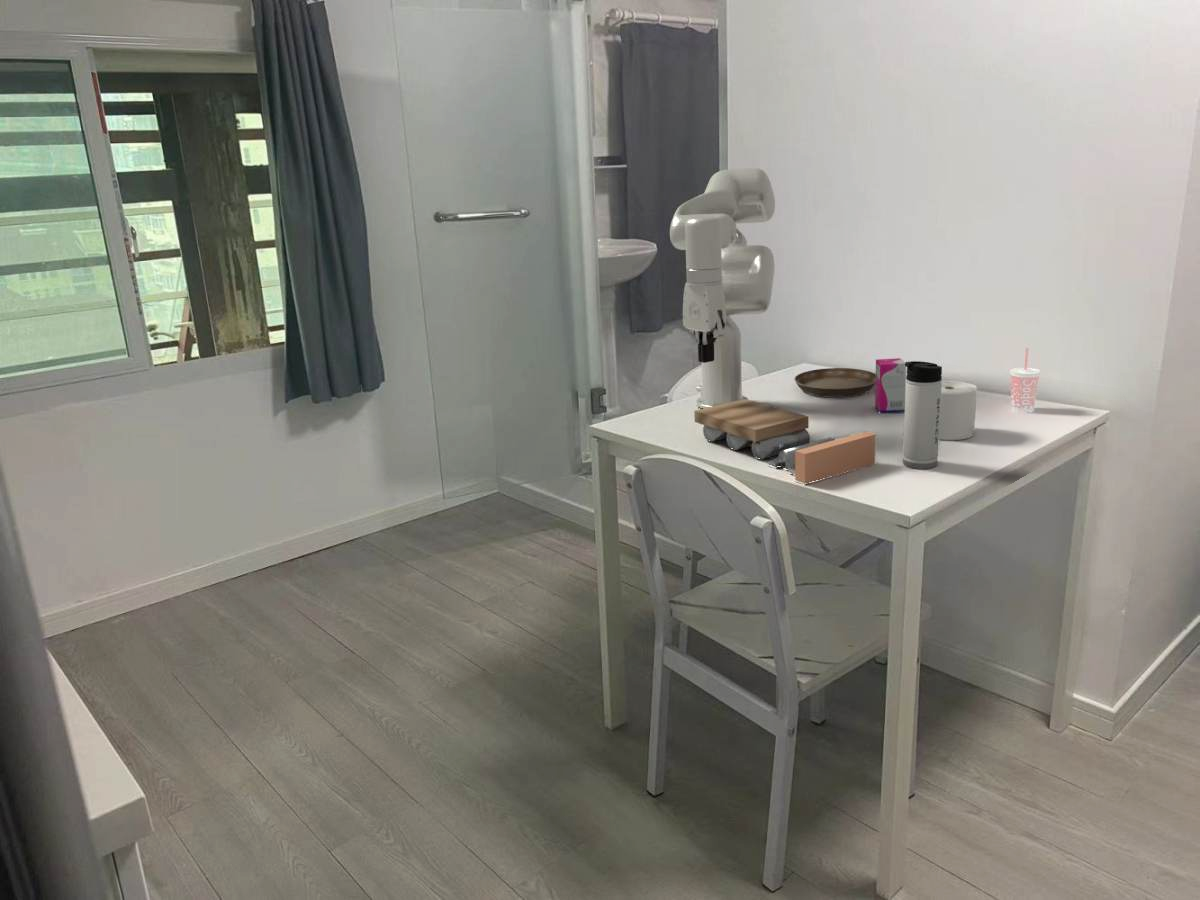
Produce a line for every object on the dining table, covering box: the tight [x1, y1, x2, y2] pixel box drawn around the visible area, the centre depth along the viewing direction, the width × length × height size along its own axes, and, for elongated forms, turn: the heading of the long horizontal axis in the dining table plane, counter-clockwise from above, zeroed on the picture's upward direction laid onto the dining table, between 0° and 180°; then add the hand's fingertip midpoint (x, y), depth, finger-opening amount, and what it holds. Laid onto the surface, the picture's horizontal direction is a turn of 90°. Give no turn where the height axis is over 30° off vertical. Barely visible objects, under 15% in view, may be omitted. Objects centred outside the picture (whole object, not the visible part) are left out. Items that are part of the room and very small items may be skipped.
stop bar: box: [794, 431, 877, 484], centre depth 173 cm, size 2×18×6 cm, turn 121°
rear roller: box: [702, 425, 728, 442], centre depth 199 cm, size 4×12×4 cm, turn 121°
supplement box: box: [874, 357, 907, 414], centre depth 211 cm, size 6×6×12 cm
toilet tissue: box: [939, 380, 978, 441], centre depth 191 cm, size 11×12×10 cm
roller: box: [778, 437, 836, 469], centre depth 179 cm, size 12×4×4 cm, turn 121°
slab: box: [693, 399, 810, 442], centre depth 193 cm, size 20×14×2 cm
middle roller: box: [726, 433, 753, 451], centre depth 193 cm, size 4×12×4 cm, turn 121°
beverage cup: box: [1009, 347, 1042, 413], centre depth 203 cm, size 6×6×14 cm
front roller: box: [751, 429, 811, 460], centre depth 186 cm, size 4×12×4 cm, turn 121°
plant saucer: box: [793, 367, 876, 398], centre depth 232 cm, size 21×21×3 cm
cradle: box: [767, 457, 795, 474], centre depth 180 cm, size 8×14×1 cm, turn 121°
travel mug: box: [902, 360, 943, 470], centre depth 173 cm, size 6×7×20 cm
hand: (706, 361), depth 201 cm, fingers closed
